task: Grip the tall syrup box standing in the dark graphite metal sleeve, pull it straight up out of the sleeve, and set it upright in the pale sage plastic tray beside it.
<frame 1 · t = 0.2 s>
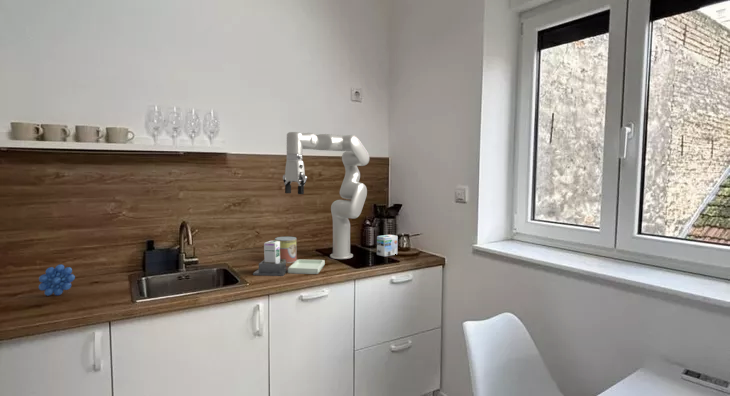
hand: (294, 193, 199), 37 cm above the worktop, tool pointing down, fingers open, 9 cm apart
canned food: (285, 261, 218), on the worktop
tray: (307, 268, 201), on the worktop
sleeve holder: (272, 271, 195), on the worktop
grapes: (58, 295, 159), on the worktop
light bulb box: (387, 254, 234), on the worktop
syrup box: (272, 272, 195), resting in sleeve holder
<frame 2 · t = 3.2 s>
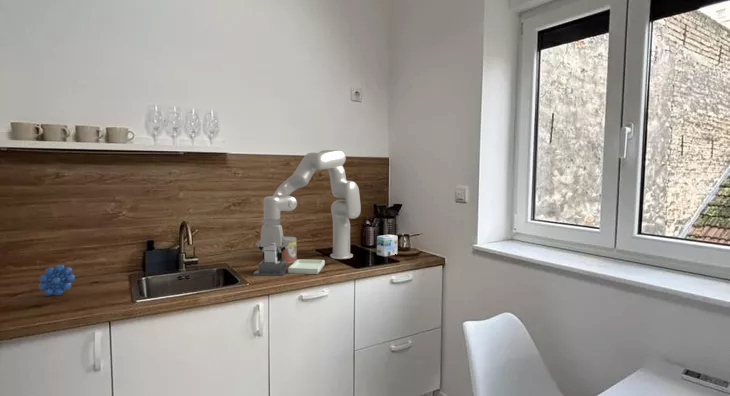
hand: (272, 260, 194), 6 cm above the worktop, tool pointing down, fingers closed on syrup box, 6 cm apart
syrup box: (272, 272, 195), resting in sleeve holder, touching gripper
everything else where it was.
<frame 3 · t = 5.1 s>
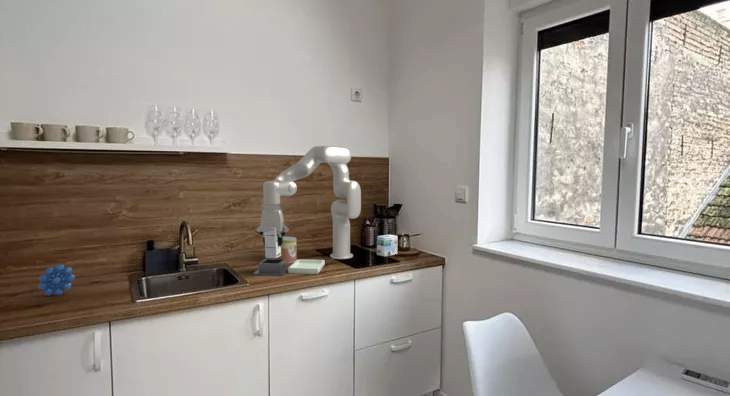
hand: (273, 245, 194), 13 cm above the worktop, tool pointing down, fingers closed on syrup box, 6 cm apart
syrup box: (273, 257, 195), point 7 cm above the worktop, touching gripper
everything else where it was.
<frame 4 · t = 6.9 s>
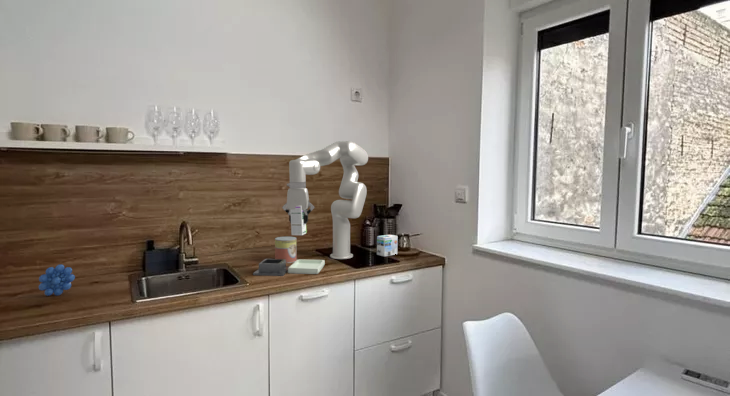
hand: (298, 222, 198), 23 cm above the worktop, tool pointing down, fingers closed on syrup box, 6 cm apart
syrup box: (298, 234, 198), point 17 cm above the worktop, touching gripper
everything else where it was.
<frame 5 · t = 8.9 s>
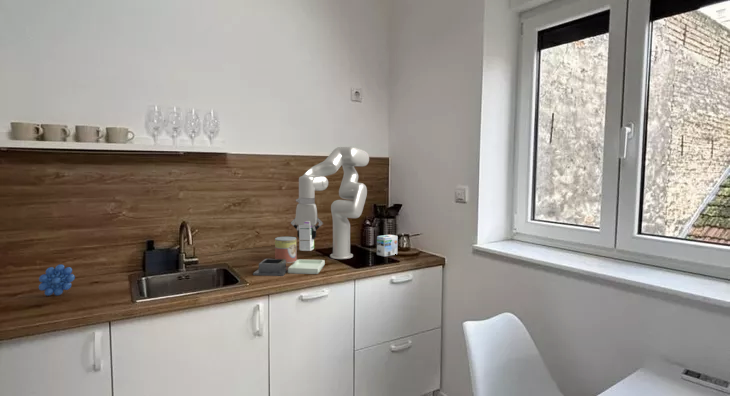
hand: (306, 238, 199), 15 cm above the worktop, tool pointing down, fingers closed on syrup box, 6 cm apart
syrup box: (306, 250, 200), point 9 cm above the worktop, touching gripper
everything else where it was.
when the fingers open (8 cm above the worktop, at t = 10.7 s): syrup box drops 1 cm, resting on tray.
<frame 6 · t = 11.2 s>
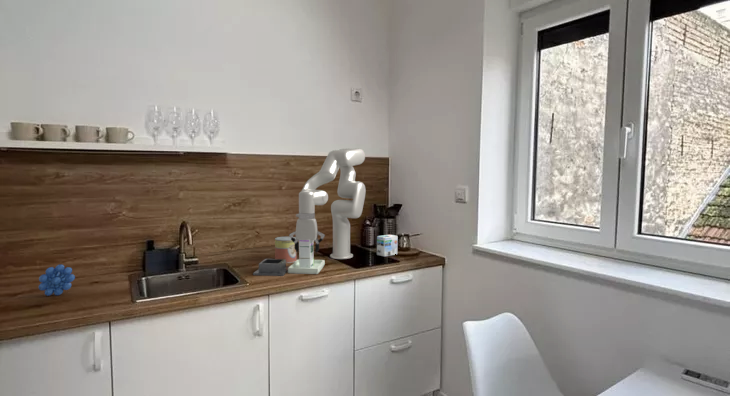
hand: (307, 251, 200), 9 cm above the worktop, tool pointing down, fingers open, 9 cm apart
syrup box: (306, 267, 201), point 1 cm above the worktop, touching tray
everything else where it was.
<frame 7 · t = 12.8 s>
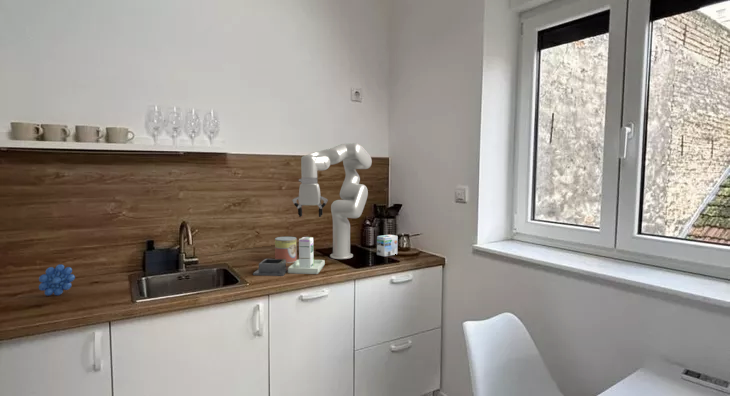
hand: (310, 216, 200), 26 cm above the worktop, tool pointing down, fingers open, 9 cm apart
nothing on the worktop moved.
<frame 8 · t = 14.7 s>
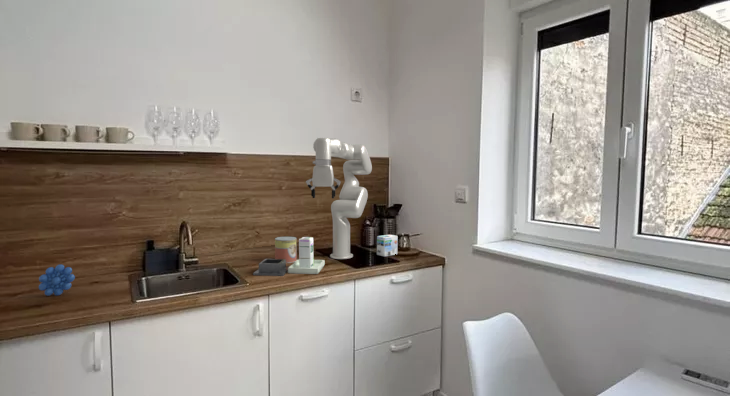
hand: (323, 198, 203), 34 cm above the worktop, tool pointing down, fingers open, 9 cm apart
nothing on the worktop moved.
at the end: syrup box inside the target area on the tray (0.3 cm from its centre), point 0.6 cm above the tray's base; syrup box tilted 0°; the gripper is holding nothing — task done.
